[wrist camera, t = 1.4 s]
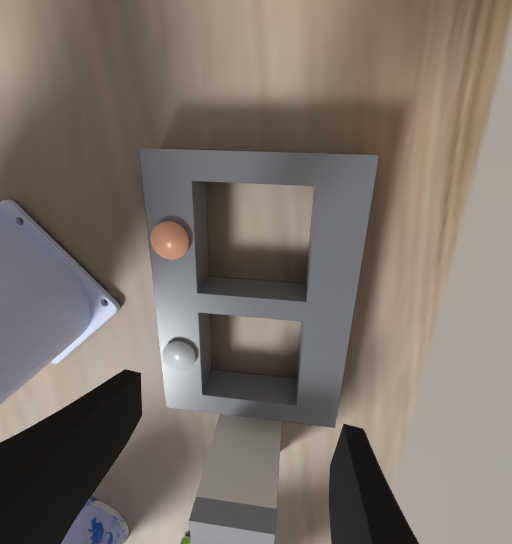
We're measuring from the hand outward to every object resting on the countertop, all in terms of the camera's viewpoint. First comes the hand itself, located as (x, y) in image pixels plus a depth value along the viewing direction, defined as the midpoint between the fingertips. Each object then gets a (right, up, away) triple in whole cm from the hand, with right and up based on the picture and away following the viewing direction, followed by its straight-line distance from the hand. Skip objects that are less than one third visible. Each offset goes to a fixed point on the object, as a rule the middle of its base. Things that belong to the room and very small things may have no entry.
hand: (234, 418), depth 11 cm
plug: (0, -7, +13) cm, 15 cm away
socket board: (+1, +4, +9) cm, 10 cm away
